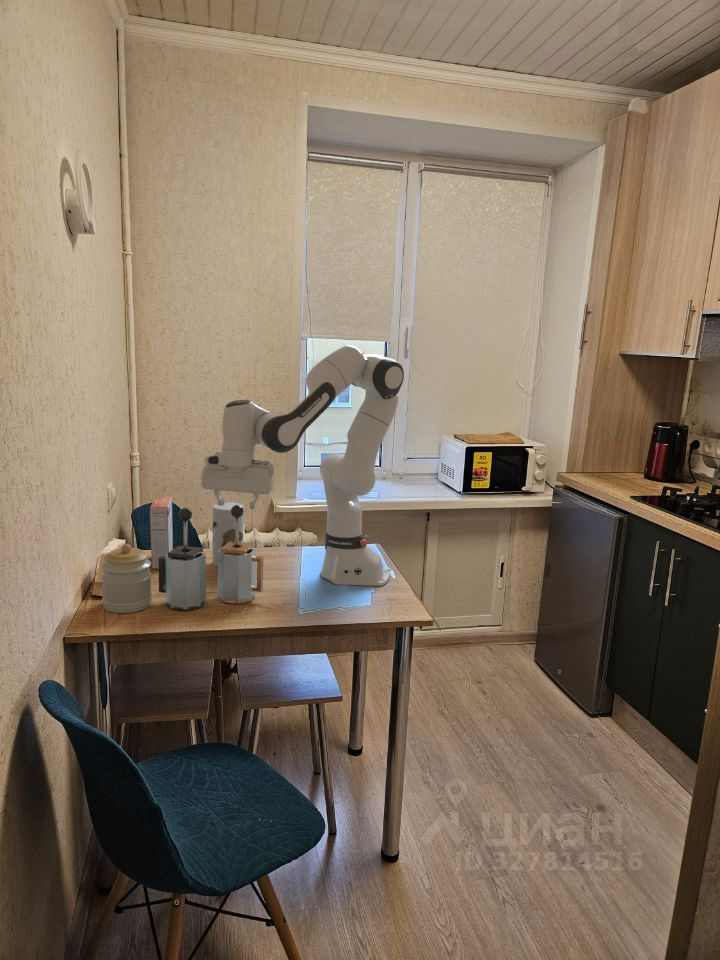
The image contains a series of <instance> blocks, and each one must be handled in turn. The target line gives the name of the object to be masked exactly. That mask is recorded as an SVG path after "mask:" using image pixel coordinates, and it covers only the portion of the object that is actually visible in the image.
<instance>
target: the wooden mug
mask: <svg viewBox="0 0 720 960" xmlns="http://www.w3.org/2000/svg"><path fill="white" fill-rule="evenodd" d="M242 539H243V540H244V533H243V534H242V533H241V532H240V531H239V542H240V543H241V540H242ZM223 540H224V541H223V542H222V546H221V548H222V547H223V546H224V545H226V544H227V543H228V542H235V529H232V530H229V531H227V532H225V533H224V534H223ZM216 577H217V578H218V570H217V571H216Z"/></svg>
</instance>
